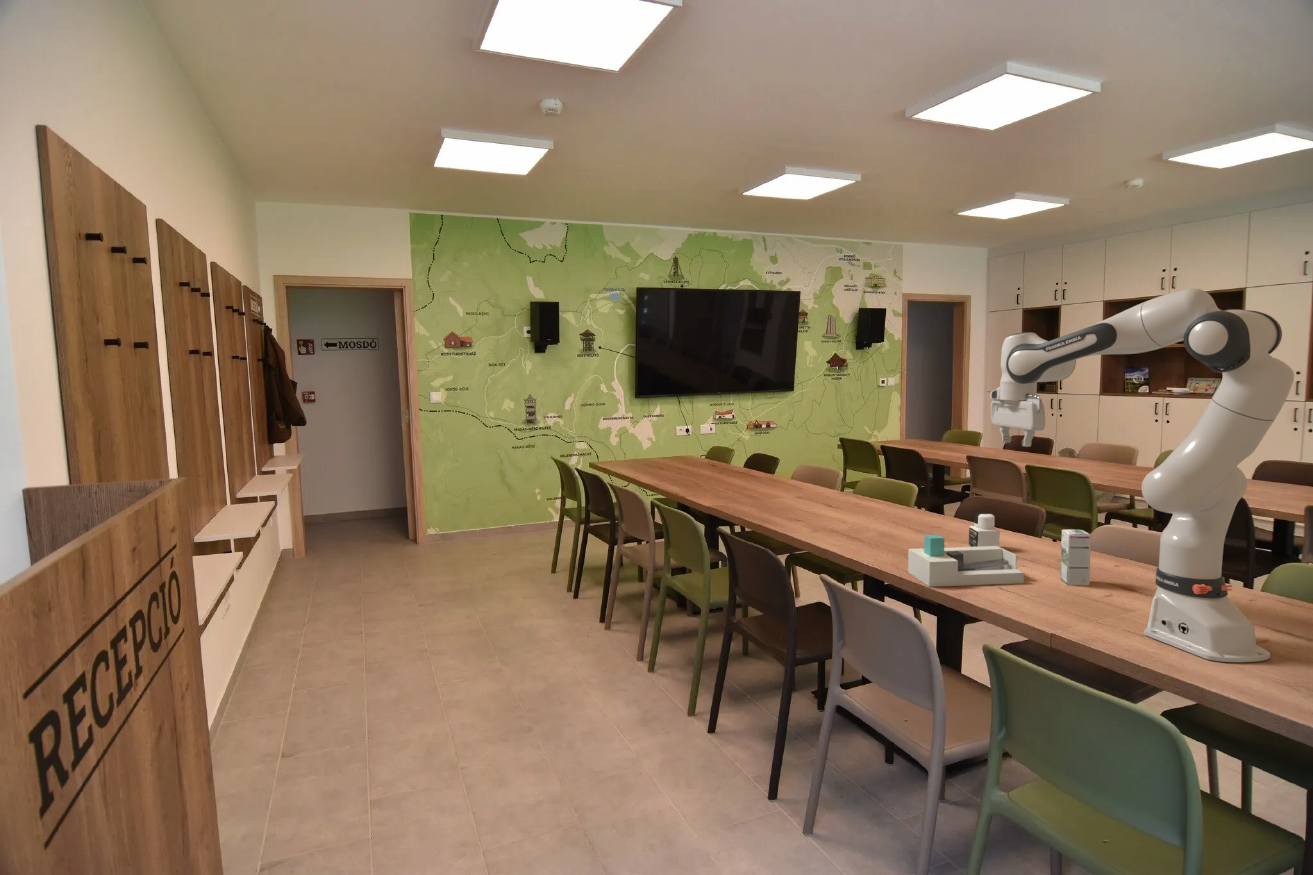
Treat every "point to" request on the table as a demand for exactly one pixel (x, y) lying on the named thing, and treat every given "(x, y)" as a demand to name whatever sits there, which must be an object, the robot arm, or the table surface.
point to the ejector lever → (975, 565)
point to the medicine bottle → (983, 531)
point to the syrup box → (1075, 557)
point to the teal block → (934, 545)
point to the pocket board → (947, 573)
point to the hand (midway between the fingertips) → (1016, 444)
